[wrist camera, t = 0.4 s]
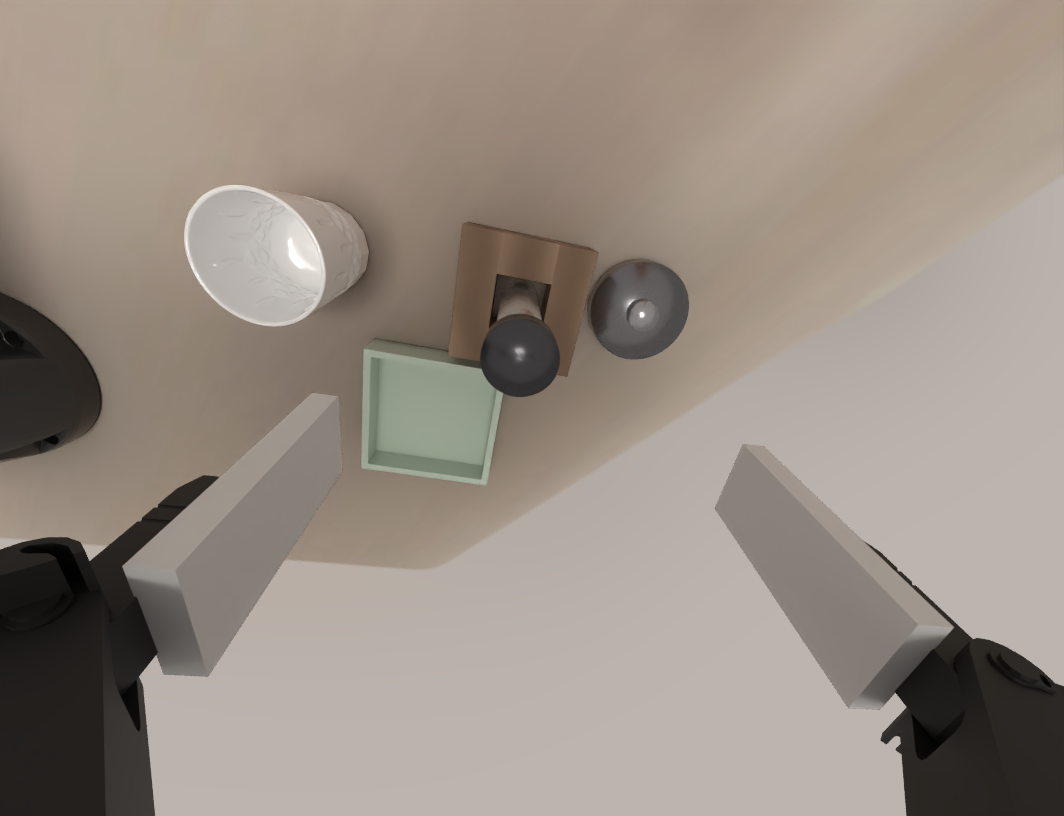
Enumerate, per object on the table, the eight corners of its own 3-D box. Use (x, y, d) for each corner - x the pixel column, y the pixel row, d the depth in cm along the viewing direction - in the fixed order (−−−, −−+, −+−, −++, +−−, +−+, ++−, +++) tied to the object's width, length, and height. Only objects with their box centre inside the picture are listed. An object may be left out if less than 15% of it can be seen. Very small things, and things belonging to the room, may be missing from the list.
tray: (371, 451, 42) (361, 468, 39) (374, 338, 36) (363, 348, 34) (488, 468, 43) (486, 485, 40) (507, 361, 38) (506, 373, 35)
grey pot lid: (578, 342, 37) (583, 355, 34) (601, 250, 34) (610, 254, 31) (661, 357, 38) (674, 371, 35) (691, 269, 35) (709, 275, 31)
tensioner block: (454, 341, 37) (447, 356, 33) (468, 222, 33) (462, 223, 29) (562, 360, 38) (567, 376, 34) (589, 247, 34) (598, 252, 30)
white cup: (367, 309, 35) (316, 343, 26) (271, 277, 34) (183, 302, 25) (385, 214, 32) (334, 216, 23) (280, 175, 31) (182, 161, 22)
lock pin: (492, 315, 36) (475, 389, 21) (499, 268, 34) (486, 313, 19) (537, 323, 36) (550, 402, 22) (546, 277, 35) (568, 329, 20)
